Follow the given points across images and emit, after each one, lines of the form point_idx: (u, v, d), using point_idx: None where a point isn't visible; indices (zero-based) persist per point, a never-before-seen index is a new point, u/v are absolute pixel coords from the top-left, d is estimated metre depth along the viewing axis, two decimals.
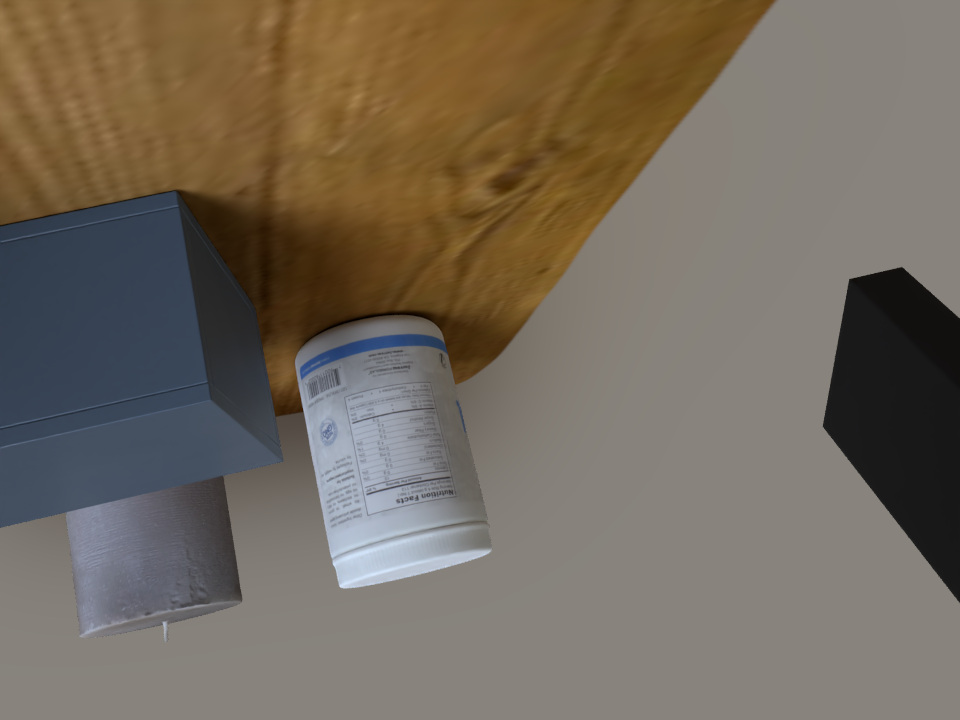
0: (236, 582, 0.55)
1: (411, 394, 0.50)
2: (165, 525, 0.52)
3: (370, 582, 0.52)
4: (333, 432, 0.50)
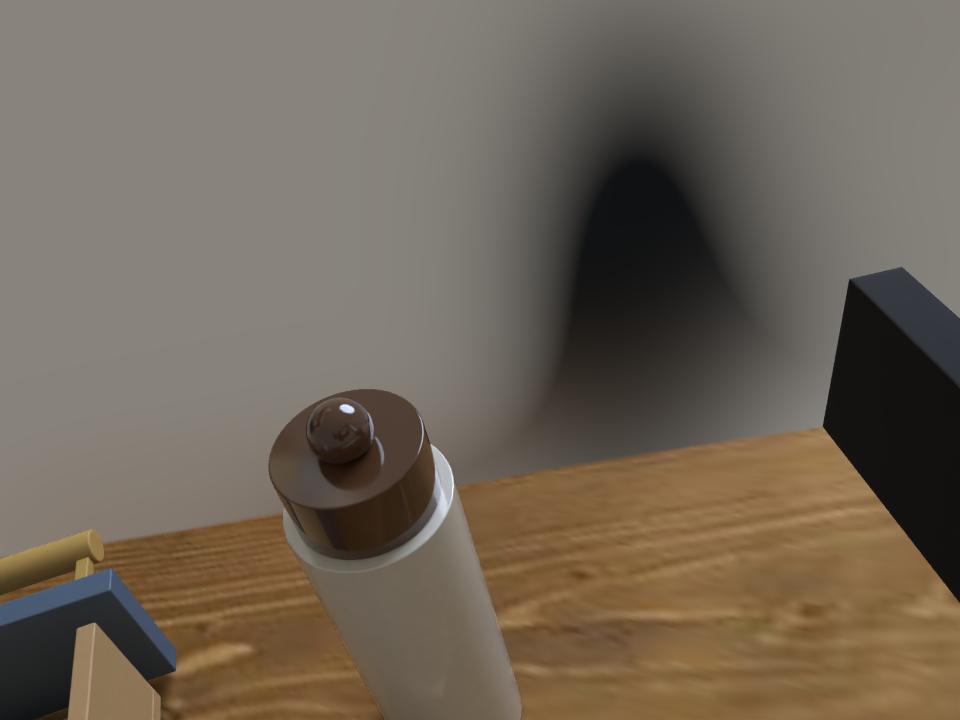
0: None
1: None
2: None
3: None
4: None
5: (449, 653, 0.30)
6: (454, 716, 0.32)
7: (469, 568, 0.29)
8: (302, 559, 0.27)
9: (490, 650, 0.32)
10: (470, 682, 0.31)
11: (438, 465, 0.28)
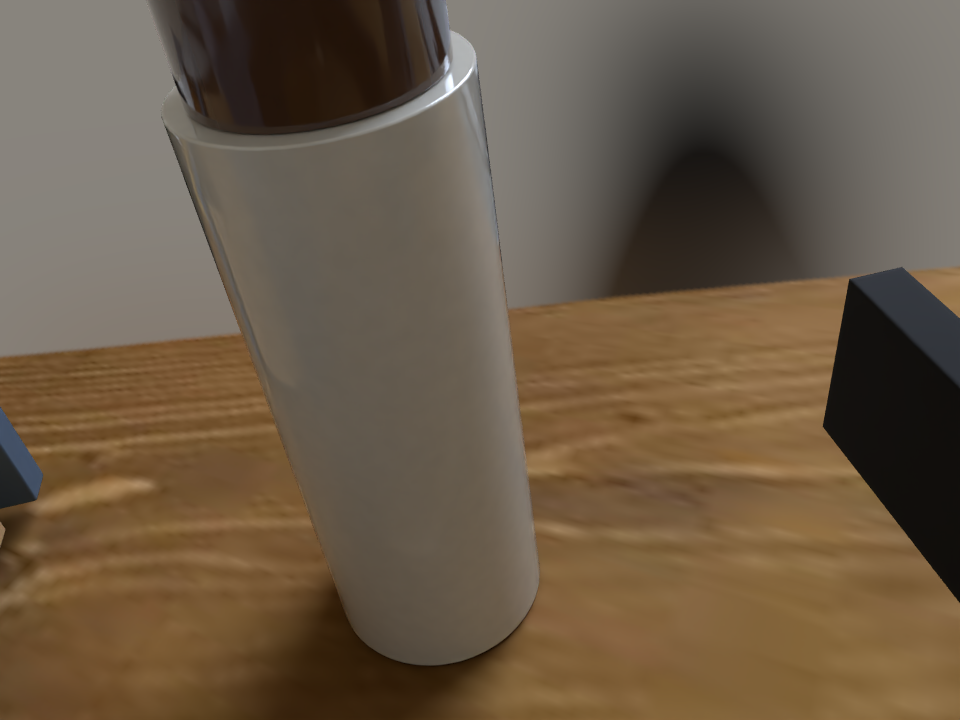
0: None
1: None
2: None
3: None
4: None
5: (440, 402, 0.17)
6: (437, 540, 0.19)
7: (487, 245, 0.17)
8: (183, 140, 0.14)
9: (507, 434, 0.19)
10: (470, 478, 0.19)
11: None
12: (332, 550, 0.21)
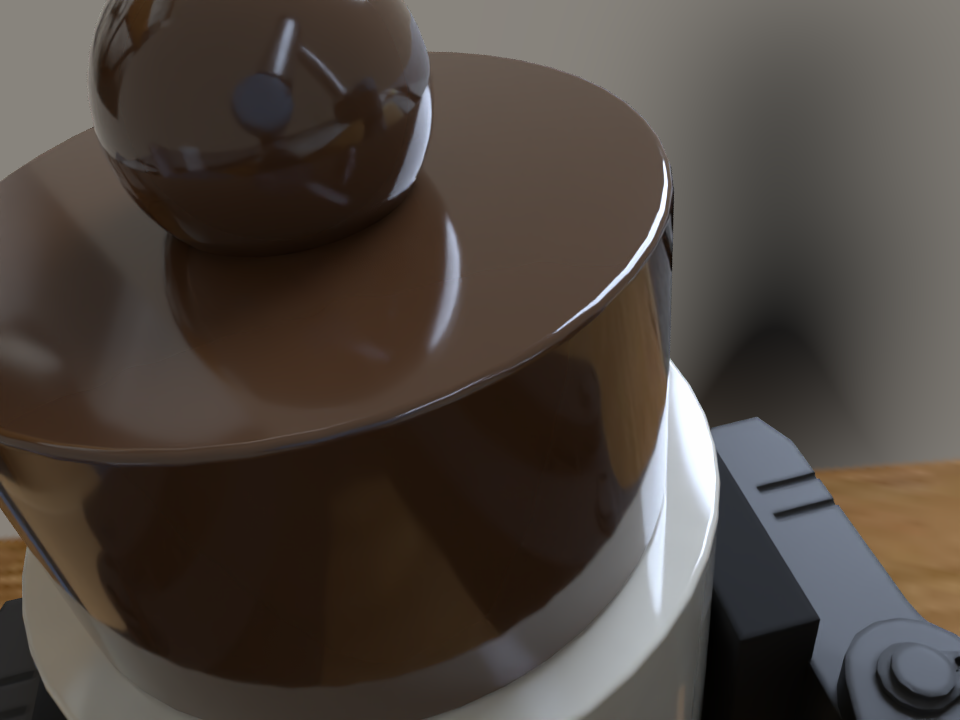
0: None
1: None
2: None
3: None
4: None
5: None
6: None
7: None
8: (55, 702, 0.06)
9: None
10: None
11: None
12: None
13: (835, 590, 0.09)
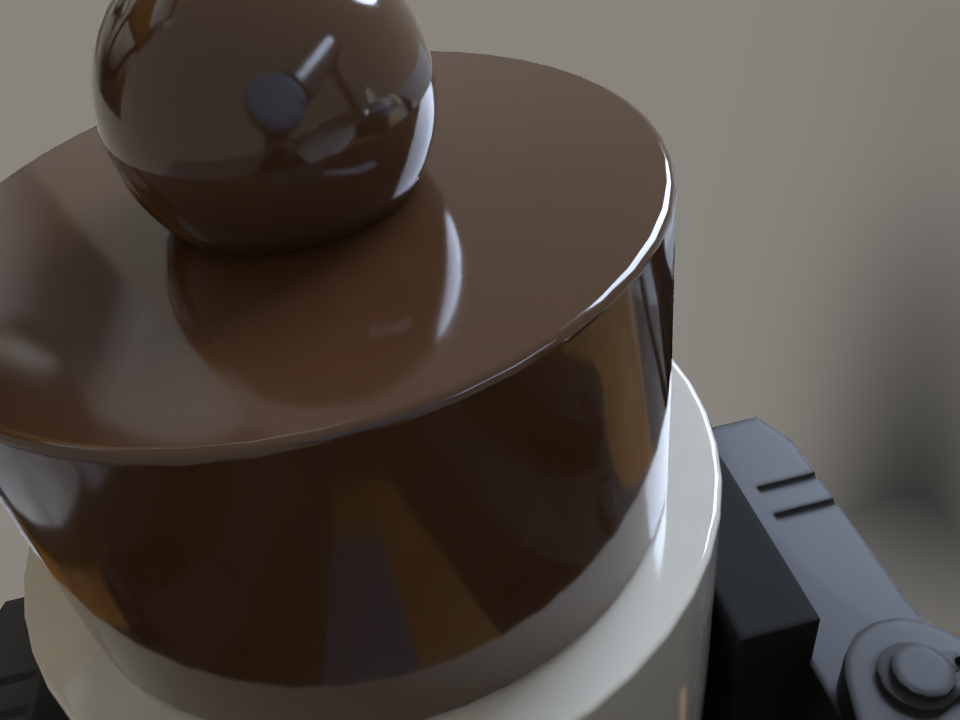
0: None
1: None
2: None
3: None
4: None
5: None
6: None
7: None
8: None
9: None
10: None
11: None
12: None
13: (835, 589, 0.09)
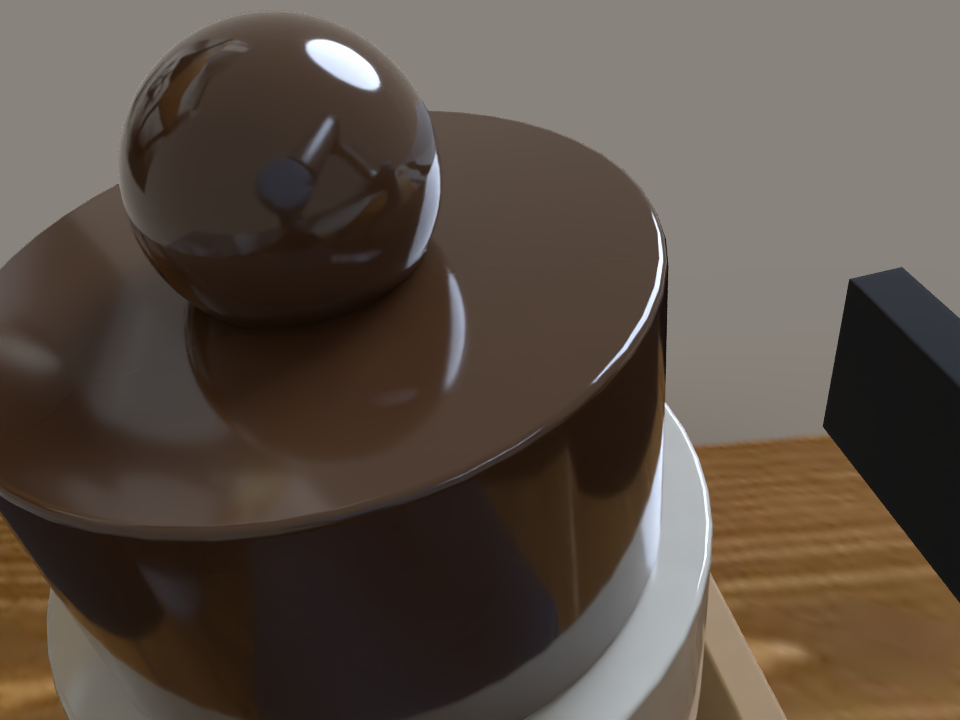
0: None
1: None
2: None
3: None
4: None
5: None
6: None
7: None
8: None
9: None
10: None
11: None
12: None
13: None
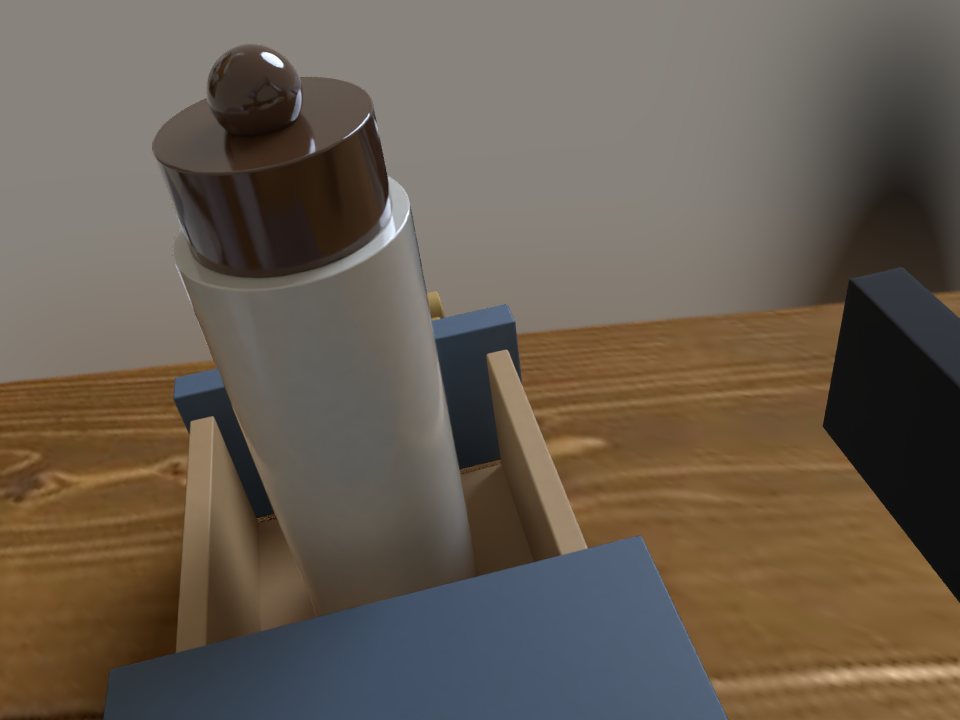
0: None
1: None
2: None
3: None
4: None
5: (387, 462, 0.22)
6: (389, 567, 0.24)
7: (422, 343, 0.22)
8: (189, 278, 0.19)
9: (444, 483, 0.24)
10: (413, 519, 0.24)
11: (392, 192, 0.21)
12: (306, 575, 0.26)
13: None
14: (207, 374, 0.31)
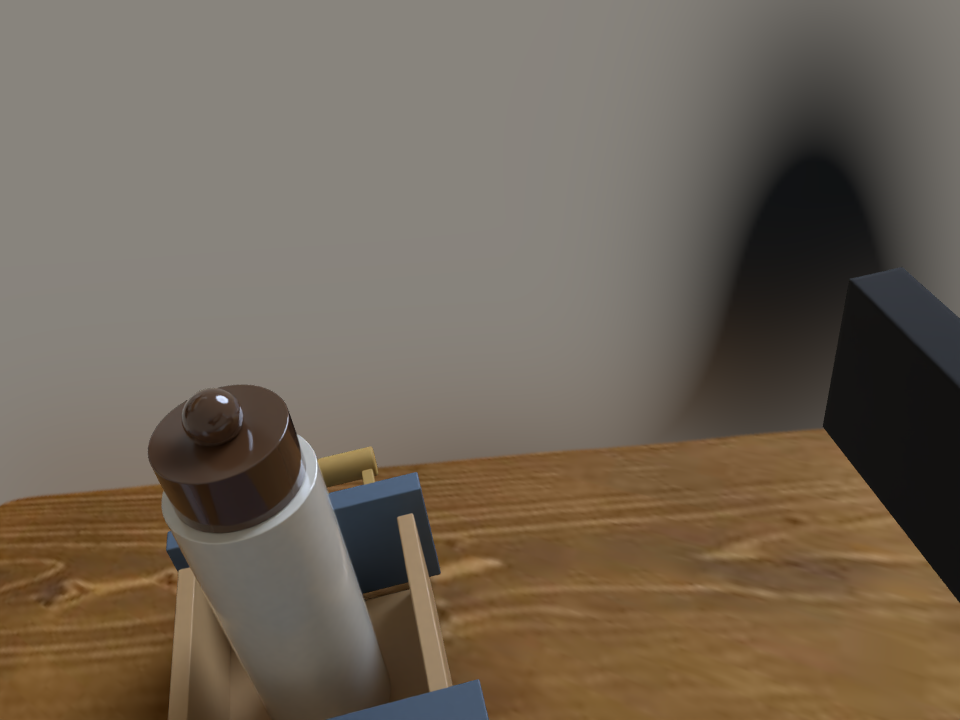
0: None
1: None
2: None
3: None
4: None
5: (307, 630, 0.33)
6: (314, 692, 0.35)
7: (328, 554, 0.32)
8: (172, 530, 0.30)
9: (352, 634, 0.35)
10: (329, 661, 0.35)
11: (307, 458, 0.32)
12: (258, 693, 0.36)
13: None
14: None
